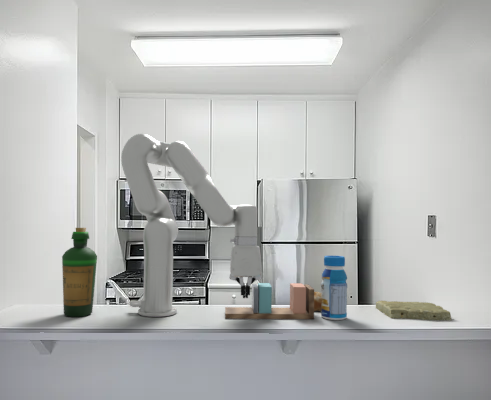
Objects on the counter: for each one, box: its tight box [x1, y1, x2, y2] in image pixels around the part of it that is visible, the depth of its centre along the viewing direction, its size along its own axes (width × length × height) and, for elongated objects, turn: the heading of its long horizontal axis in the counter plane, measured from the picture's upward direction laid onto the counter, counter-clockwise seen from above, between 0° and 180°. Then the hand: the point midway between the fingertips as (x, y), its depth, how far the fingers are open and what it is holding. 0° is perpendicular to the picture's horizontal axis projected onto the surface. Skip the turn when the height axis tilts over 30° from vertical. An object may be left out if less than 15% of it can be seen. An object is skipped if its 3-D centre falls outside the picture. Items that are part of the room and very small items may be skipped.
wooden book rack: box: [224, 283, 315, 320], centre depth 144 cm, size 28×10×10 cm, turn 93°
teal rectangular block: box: [257, 282, 273, 313], centre depth 144 cm, size 4×8×8 cm, turn 2°
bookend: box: [251, 283, 258, 313], centre depth 144 cm, size 2×9×8 cm, turn 2°
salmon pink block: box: [289, 282, 306, 314], centre depth 145 cm, size 4×8×8 cm, turn 2°
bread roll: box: [314, 291, 322, 312], centre depth 156 cm, size 10×10×8 cm
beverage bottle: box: [320, 255, 348, 321], centre depth 142 cm, size 8×8×20 cm
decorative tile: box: [375, 300, 452, 321], centre depth 150 cm, size 19×20×4 cm
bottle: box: [61, 227, 98, 318], centre depth 141 cm, size 11×11×28 cm
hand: (245, 297), depth 144 cm, fingers closed
